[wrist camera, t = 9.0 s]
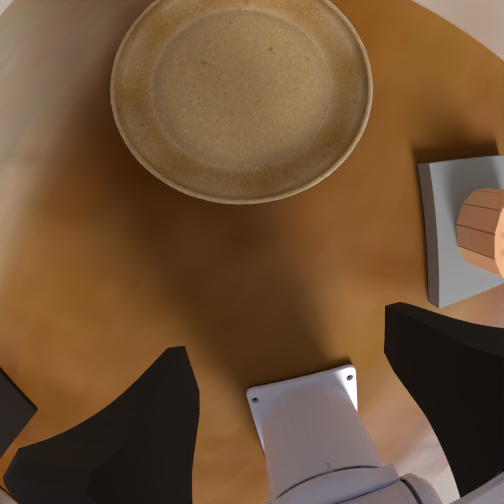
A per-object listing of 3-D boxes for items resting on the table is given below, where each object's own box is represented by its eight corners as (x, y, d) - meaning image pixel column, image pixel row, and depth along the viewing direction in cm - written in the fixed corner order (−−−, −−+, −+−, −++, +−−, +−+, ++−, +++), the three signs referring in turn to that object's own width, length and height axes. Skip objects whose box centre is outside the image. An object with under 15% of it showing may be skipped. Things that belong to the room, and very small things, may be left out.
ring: (506, 256, 19) (540, 269, 15) (457, 273, 19) (493, 291, 15) (503, 184, 18) (540, 188, 14) (453, 193, 18) (492, 199, 14)
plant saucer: (102, 179, 18) (84, 180, 16) (159, -18, 15) (152, -37, 13) (332, 224, 20) (346, 230, 17) (368, 22, 17) (383, 6, 14)
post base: (505, 272, 21) (556, 295, 15) (428, 301, 21) (480, 338, 15) (499, 154, 19) (558, 155, 12) (417, 163, 19) (480, 162, 12)
